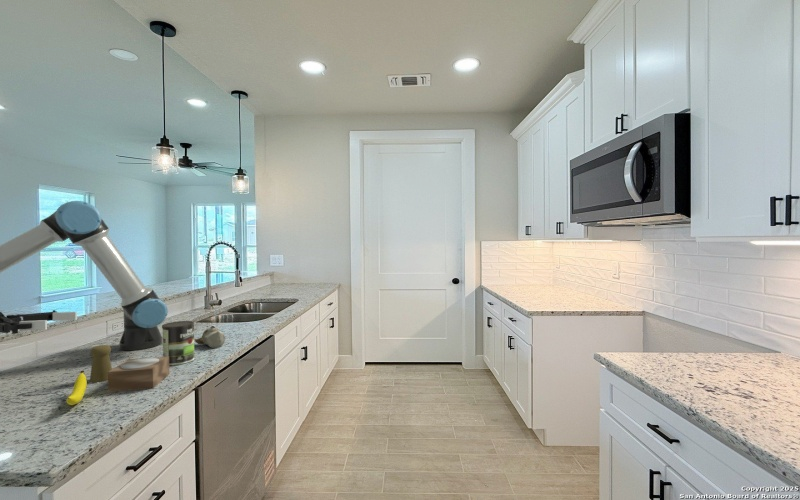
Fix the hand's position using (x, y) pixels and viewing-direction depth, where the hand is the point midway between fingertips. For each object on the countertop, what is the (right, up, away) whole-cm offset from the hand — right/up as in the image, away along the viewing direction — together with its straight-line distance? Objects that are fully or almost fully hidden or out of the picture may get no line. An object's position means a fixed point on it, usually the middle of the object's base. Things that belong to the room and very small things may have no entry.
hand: (62, 320), depth 115 cm
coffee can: (+25, -20, +20) cm, 38 cm away
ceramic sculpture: (+27, -19, +40) cm, 52 cm away
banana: (+18, -21, -15) cm, 31 cm away
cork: (+10, -20, +3) cm, 23 cm away
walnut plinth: (+25, -20, 0) cm, 32 cm away
